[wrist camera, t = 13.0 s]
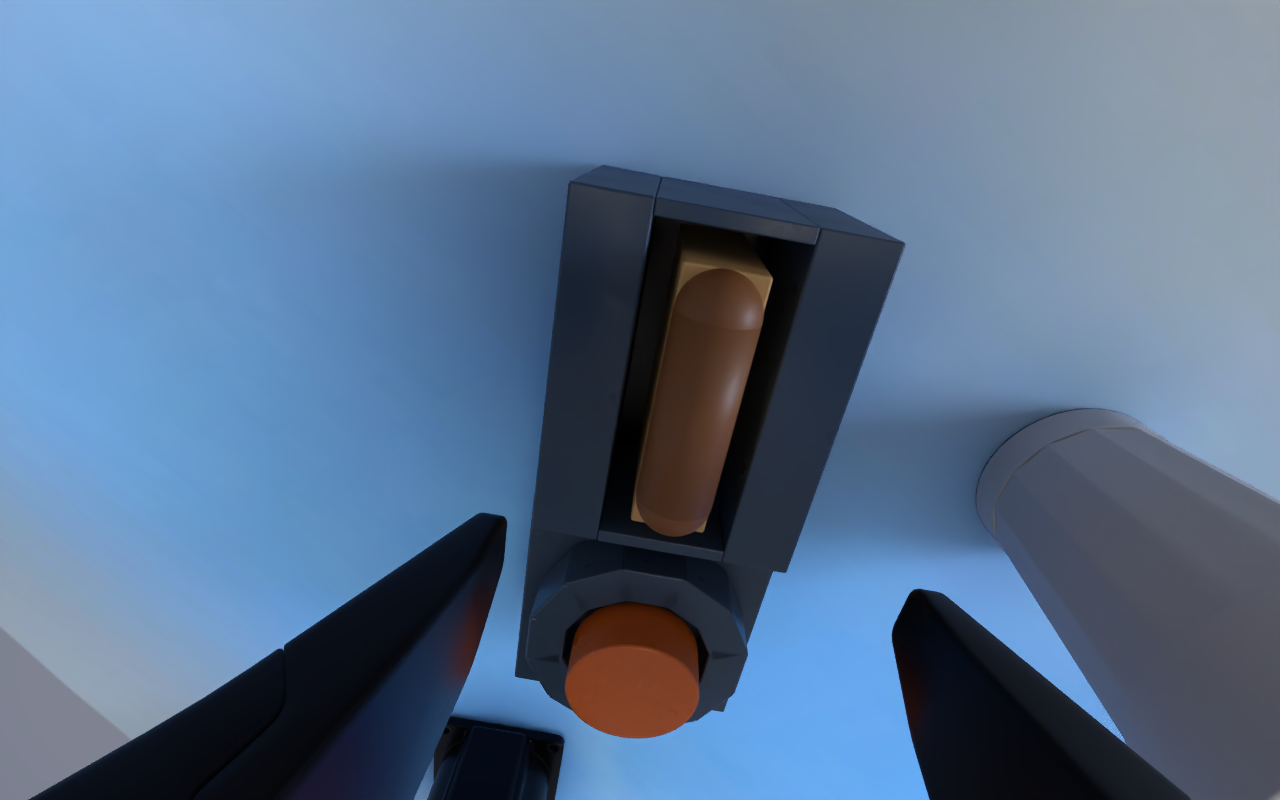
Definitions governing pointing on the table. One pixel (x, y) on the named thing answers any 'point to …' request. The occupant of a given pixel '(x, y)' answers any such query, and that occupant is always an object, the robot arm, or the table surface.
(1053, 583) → the cup
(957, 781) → the robot arm
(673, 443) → the tan slab
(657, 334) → the toaster
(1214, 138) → the table surface
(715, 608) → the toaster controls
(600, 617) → the button
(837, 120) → the table surface
